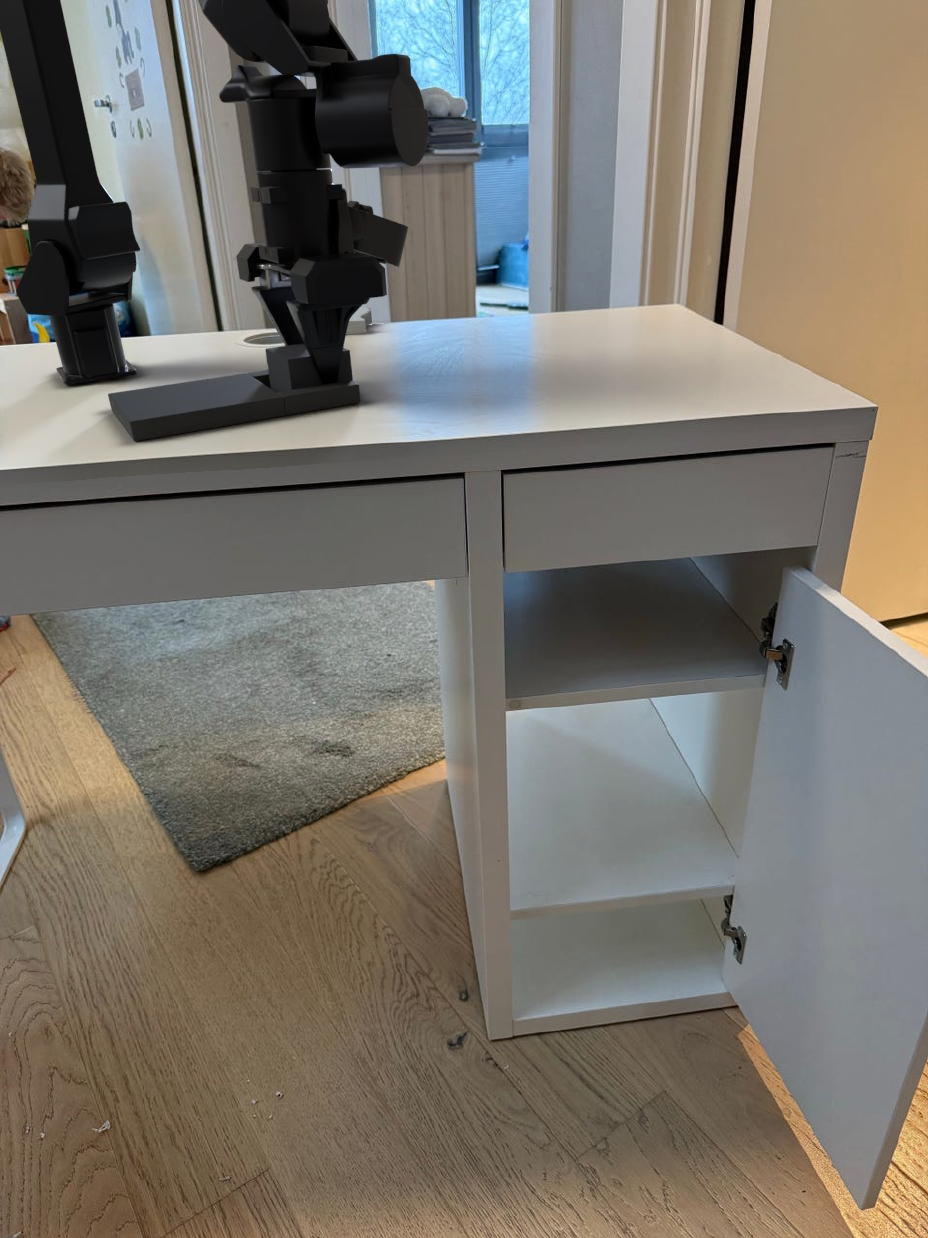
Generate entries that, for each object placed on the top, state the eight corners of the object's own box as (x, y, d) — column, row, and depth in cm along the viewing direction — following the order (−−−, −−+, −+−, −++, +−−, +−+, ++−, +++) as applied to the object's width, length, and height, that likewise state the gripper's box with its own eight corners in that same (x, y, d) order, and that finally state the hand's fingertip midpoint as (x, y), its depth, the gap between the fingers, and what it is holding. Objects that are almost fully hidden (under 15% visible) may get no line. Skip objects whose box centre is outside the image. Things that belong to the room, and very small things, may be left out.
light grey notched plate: (366, 333, 96) (374, 317, 105) (365, 320, 96) (373, 305, 104) (315, 335, 96) (327, 319, 105) (314, 322, 96) (326, 307, 104)
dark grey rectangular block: (270, 390, 74) (265, 348, 72) (329, 380, 76) (324, 339, 74) (293, 403, 70) (287, 359, 68) (354, 392, 72) (350, 350, 70)
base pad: (111, 411, 71) (107, 393, 70) (318, 379, 78) (316, 362, 77) (134, 441, 63) (129, 421, 62) (361, 402, 70) (359, 384, 69)
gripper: (444, 165, 61) (453, 385, 69) (346, 165, 76) (363, 347, 83) (295, 173, 57) (322, 408, 64) (221, 171, 71) (251, 363, 79)
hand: (318, 378), depth 73 cm, fingers closed on dark grey rectangular block, 5 cm apart
